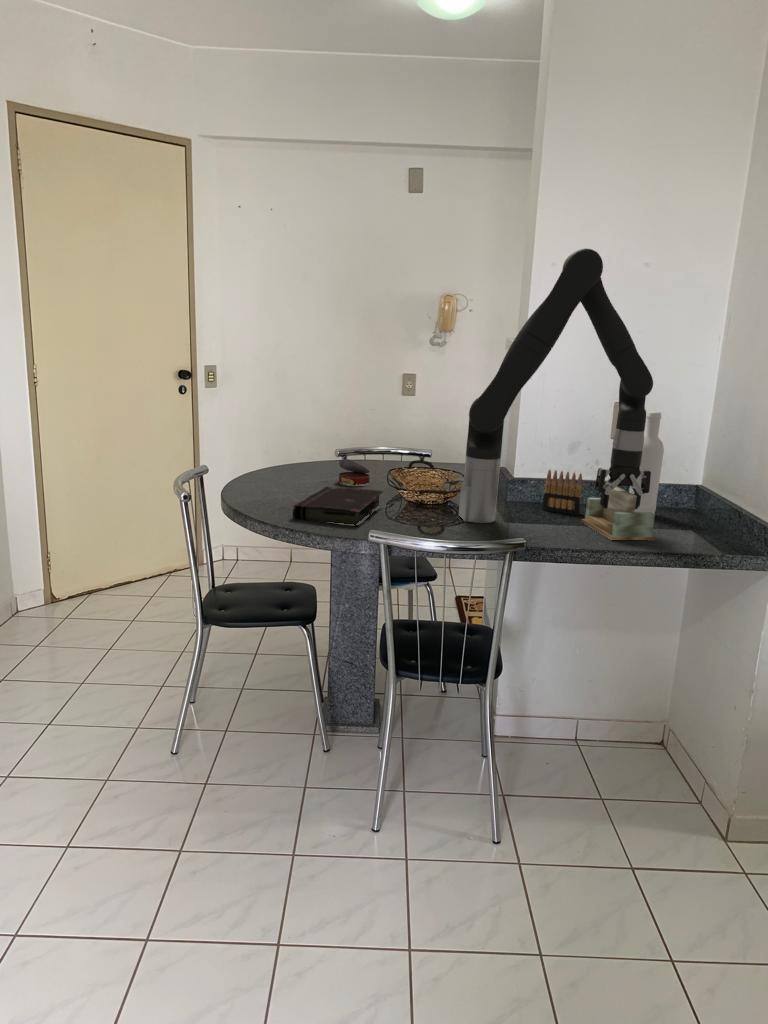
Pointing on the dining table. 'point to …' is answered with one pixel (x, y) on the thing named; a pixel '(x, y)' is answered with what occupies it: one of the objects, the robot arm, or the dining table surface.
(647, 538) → the slat holder
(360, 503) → the diary
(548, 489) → the ammunition clip
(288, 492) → the dining table surface
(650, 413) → the bottle
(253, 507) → the dining table surface
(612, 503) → the ash slat
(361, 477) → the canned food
